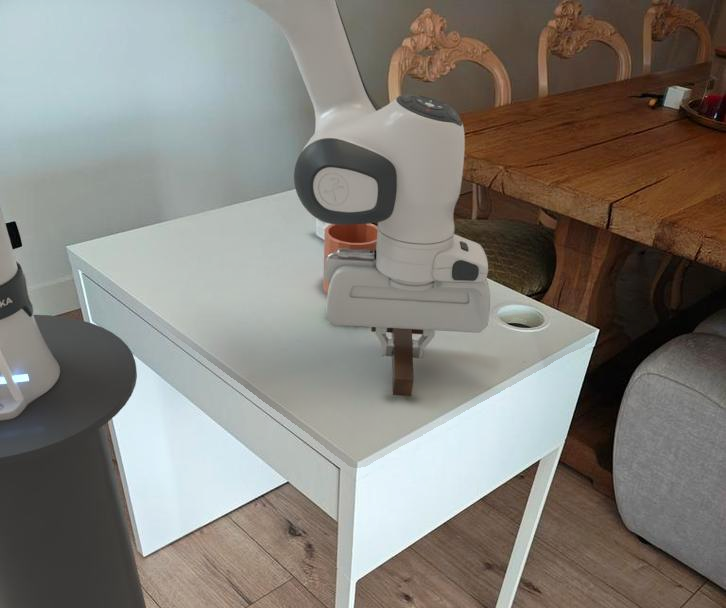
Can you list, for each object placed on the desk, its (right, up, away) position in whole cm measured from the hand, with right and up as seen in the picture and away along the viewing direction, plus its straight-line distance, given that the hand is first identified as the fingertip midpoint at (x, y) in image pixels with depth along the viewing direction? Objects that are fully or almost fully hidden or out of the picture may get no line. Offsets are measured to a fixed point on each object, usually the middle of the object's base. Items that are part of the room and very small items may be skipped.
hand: (402, 355), depth 92 cm
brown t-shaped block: (0, 0, +1) cm, 1 cm away
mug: (-6, +14, +20) cm, 25 cm away
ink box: (-9, +26, +33) cm, 43 cm away
